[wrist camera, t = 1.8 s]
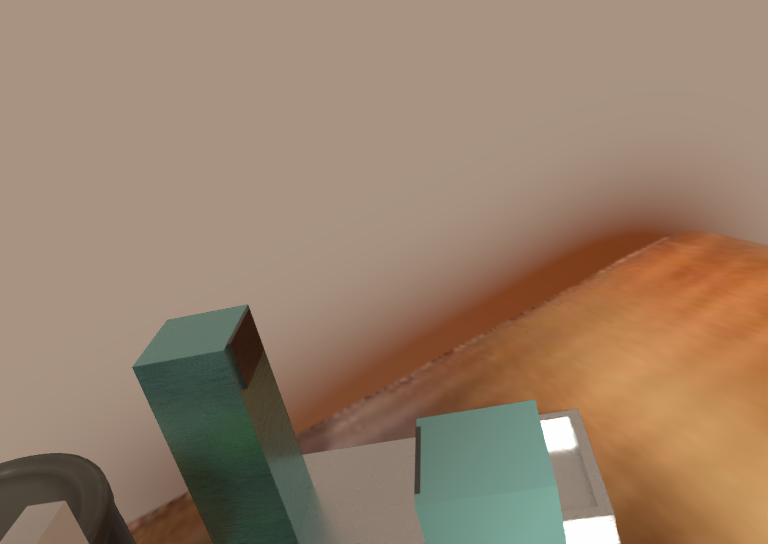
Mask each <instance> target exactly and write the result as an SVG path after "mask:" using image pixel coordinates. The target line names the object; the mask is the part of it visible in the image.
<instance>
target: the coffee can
mask: <svg viewBox="0 0 768 544" xmlns="http://www.w3.org/2000/svg"><path fill="white" fill-rule="evenodd" d="M59 501H66V503H67V504H68V506H69V508H70V510H71V512H72V514H73V515H74V517H75V519H76V521H77V523H78V525H79V526H80V528H81V530H82V532H83V534H84V535H85V537H86V539H87V541H88V543H89V544H136V542H135V541H134V539H133V537H132V535H131V533H130V531H129V529H128V527H127V525H126V523H125V521H124V519H123V518H122V516H121V514H120V513H119V511H118V509H117V507H116V505H115V503H114V496H113V493H112V490H111V488H110V485H109V483H108V481H107V479H106V477H105V475H104V473H103V472H102V471H101V469H100V468H99V467H98V466H97V465H96V464H94V463H93V462H91V461H90V460H88V459H85V458H83V457H81V456H78V455H73V454H63V453H50V454H41V455H34V456H28V457H23V458H18V459H14V460H11V461H7V462H4V463H1V464H0V541H1V540H2V539H3V537H4V536H5V535H6V533H7V532H8V531H9V529H10V528H11V527H12V525H13V524H14V523H15V522H16V520H17V519H18V518H19V516H20V515H21V514H22V512H23V511H24V510H25V508H26V507H27V506H32V505H38V504H45V503H52V502H59Z"/></svg>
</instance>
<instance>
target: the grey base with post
mask: <svg viewBox="0 0 768 544" xmlns="http://www.w3.org/2000/svg"><path fill="white" fill-rule="evenodd" d="M132 368H133V370H134V372H135V374H136V376H137V378H138V381H139V383H140V385H141V387H142V389H143V392H144V394H145V396H146V398H147V400H148V403H149V405H150V407H151V409H152V411H153V413H154V416H155V418H156V420H157V422H158V424H159V426H160V428H161V431H162V433H163V435H164V437H165V439H166V442H167V444H168V446H169V448H170V450H171V452H172V454H173V457H174V459H175V461H176V463H177V465H178V468H179V470H180V472H181V474H182V476H183V478H184V480H185V483H186V485H187V487H188V489H189V492H190V494H191V496H192V498H193V500H194V502H195V505H196V507H197V509H198V511H199V513H200V515H201V518H202V520H203V522H204V524H205V526H206V529H207V531H208V533H209V535H210V537H211V539H212V542H213V544H425V540H424V537H423V533H422V530H421V526H420V523H419V519H418V516H417V512H416V509H415V495H414V484H415V439H416V437H413V438H407V439H400V440H394V441H388V442H381V443H375V444H368V445H362V446H355V447H349V448H343V449H336V450H330V451H323V452H317V453H310V454H304V455H302V452H301V449H300V447H299V444H298V441H297V438H296V436H295V433H294V430H293V428H292V425H291V422H290V419H289V416H288V414H287V411H286V408H285V405H284V403H283V400H282V397H281V394H280V392H279V389H278V386H277V383H276V380H275V378H274V375H273V372H272V369H271V367H270V364H269V361H268V358H267V355H266V353H265V350H264V347H263V344H262V342H261V339H260V336H259V333H258V331H257V328H256V325H255V322H254V319H253V317H252V314H251V311H250V308H249V306H248V304H247V305H243V306H237V307H232V308H227V309H222V310H217V311H211V312H206V313H201V314H196V315H191V316H186V317H181V318H175V319H170V320H167V321H166V322H165V324H164V325H163V326H162V328H161V329H160V330H159V332H158V333H157V334H156V336H155V337H154V338H153V340H152V341H151V343H150V344H149V345H148V347H147V348H146V349H145V351H144V352H143V353H142V355H141V356H140V357H139V359H138V360H137V361H136V363H135V364H134V365H133V367H132ZM539 417H540V421H541V425H542V429H543V433H544V436H545V440H546V444H547V448H548V452H549V456H550V460H551V464H552V468H553V472H554V476H555V480H556V484H557V488H558V494H559V500H560V506H561V512H562V517H563V523H564V529H565V535H566V541H567V544H621V541H620V538H619V535H618V532H617V527H616V519H615V513H614V510H613V508H612V505H611V502H610V499H609V496H608V493H607V490H606V487H605V485H604V482H603V479H602V476H601V473H600V470H599V467H598V464H597V462H596V459H595V456H594V453H593V450H592V447H591V444H590V441H589V439H588V436H587V433H586V430H585V427H584V424H583V421H582V418H581V416H580V413H579V410H578V409H572V410H566V411H559V412H553V413H547V414H540V415H539Z"/></svg>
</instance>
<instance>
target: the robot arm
mask: <svg viewBox="0 0 768 544" xmlns="http://www.w3.org/2000/svg"><path fill="white" fill-rule="evenodd" d="M0 544H89V543H88V541H87V539H86V537H85V535H84V534H83V532H82V530H81V528H80V526H79V525H78V523H77V521H76V519H75V517H74V515H73V514H72V512H71V510H70V508H69V506H68V504H67V503H66V501H59V502H52V503H45V504H38V505H32V506H27V507H26V508H25V510H24V511H23V512H22V514H21V515H20V516H19V518H18V519H17V520H16V522H15V523H14V524H13V525H12V527H11V528H10V529H9V531H8V532H7V533H6V535H5V536H4V537H3V539H2V540H1V541H0Z"/></svg>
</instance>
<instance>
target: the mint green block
mask: <svg viewBox="0 0 768 544" xmlns="http://www.w3.org/2000/svg"><path fill="white" fill-rule="evenodd" d="M414 495H415V509H416V512H417V516H418V519H419V523H420V526H421V530H422V533H423V537H424V540H425V544H567V541H566V535H565V529H564V523H563V517H562V512H561V506H560V500H559V494H558V488H557V484H556V480H555V476H554V472H553V468H552V464H551V460H550V456H549V452H548V448H547V444H546V440H545V436H544V433H543V429H542V425H541V421H540V417H539V413H538V409H537V405H536V401H535V400H530V401H524V402H517V403H511V404H505V405H499V406H492V407H486V408H480V409H474V410H467V411H461V412H455V413H449V414H442V415H436V416H430V417H424V418H417V419H416V439H415V484H414Z"/></svg>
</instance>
